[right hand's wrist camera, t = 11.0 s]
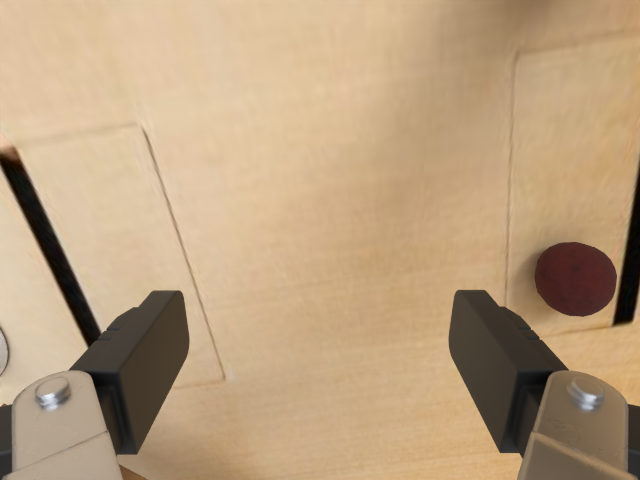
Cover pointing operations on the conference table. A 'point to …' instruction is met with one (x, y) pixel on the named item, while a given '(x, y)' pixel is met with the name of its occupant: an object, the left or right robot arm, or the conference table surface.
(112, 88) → the conference table surface
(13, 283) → the conference table surface
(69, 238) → the conference table surface
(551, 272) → the potato
